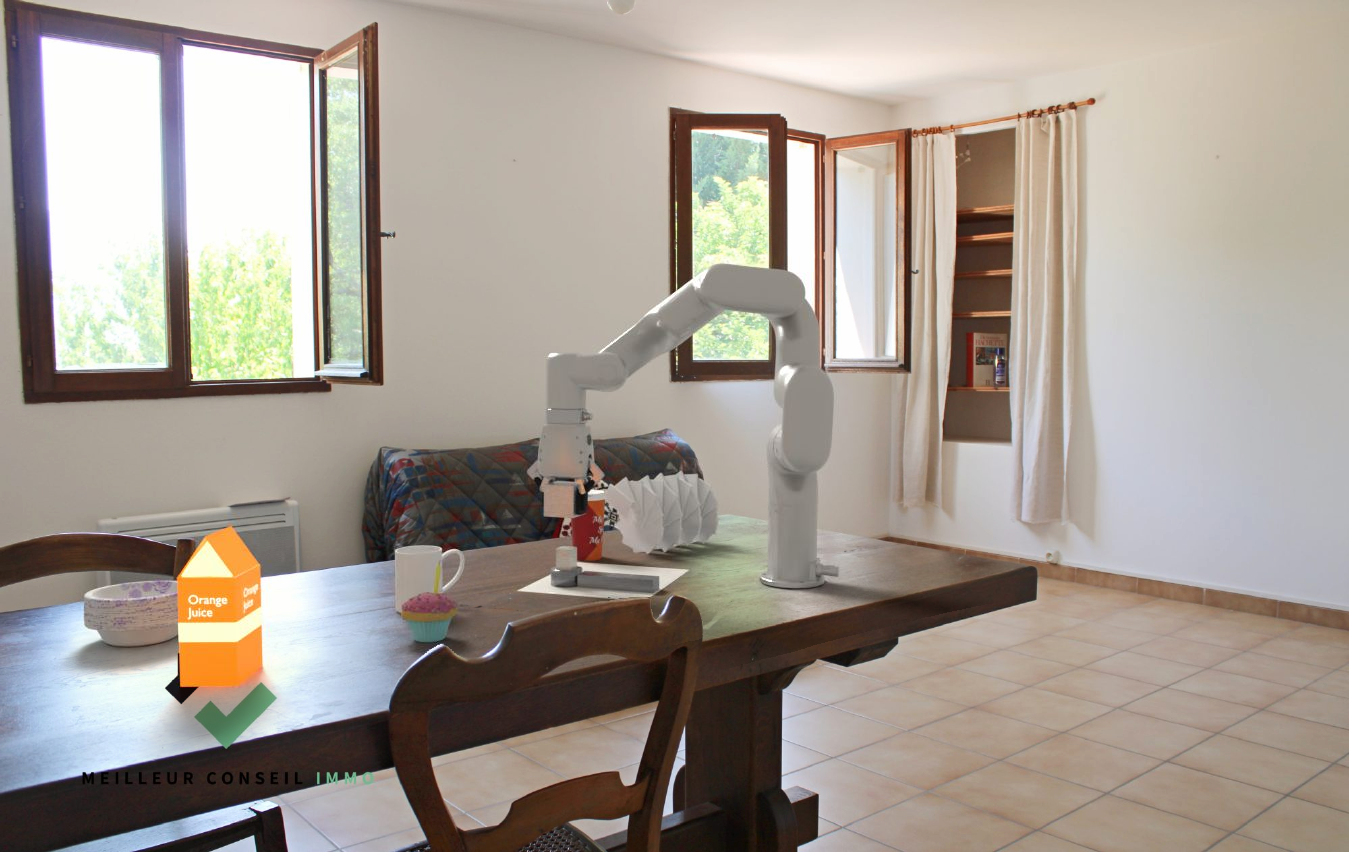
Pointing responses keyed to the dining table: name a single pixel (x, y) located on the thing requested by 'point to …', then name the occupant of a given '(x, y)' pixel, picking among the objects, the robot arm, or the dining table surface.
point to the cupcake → (429, 613)
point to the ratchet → (596, 576)
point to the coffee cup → (590, 528)
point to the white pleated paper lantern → (664, 511)
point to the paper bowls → (133, 612)
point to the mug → (420, 571)
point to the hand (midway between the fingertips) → (564, 512)
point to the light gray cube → (561, 499)
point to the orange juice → (219, 613)
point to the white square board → (664, 579)
